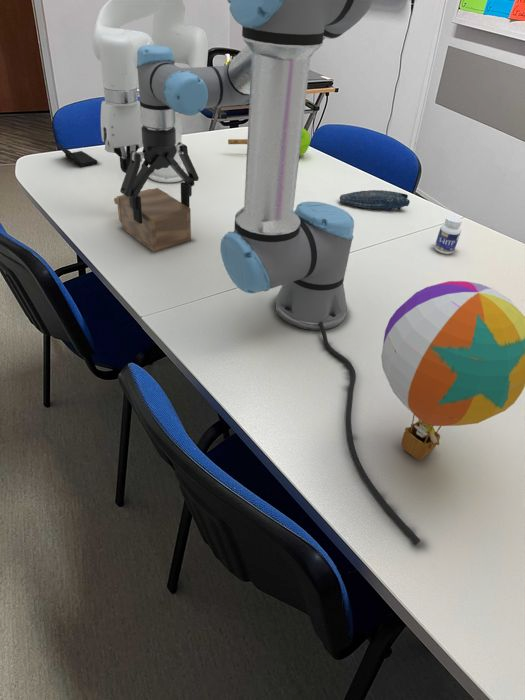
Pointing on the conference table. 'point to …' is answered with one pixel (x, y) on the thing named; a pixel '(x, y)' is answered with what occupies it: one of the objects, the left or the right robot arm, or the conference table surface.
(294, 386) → the conference table surface
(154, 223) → the wooden grain block
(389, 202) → the fish model
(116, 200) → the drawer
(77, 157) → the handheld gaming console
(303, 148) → the decorative tree
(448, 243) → the pill bottle
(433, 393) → the toy
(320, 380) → the conference table surface
